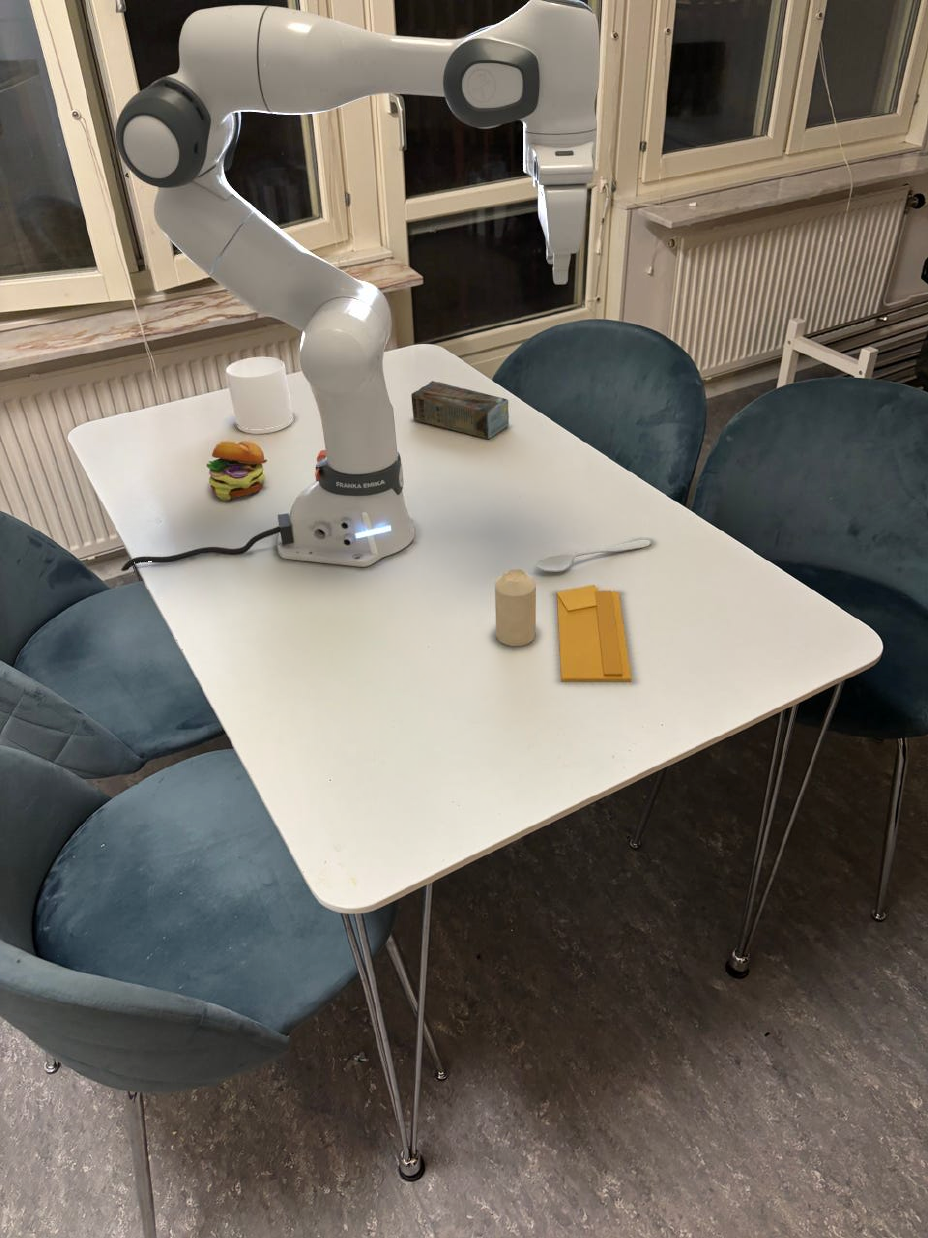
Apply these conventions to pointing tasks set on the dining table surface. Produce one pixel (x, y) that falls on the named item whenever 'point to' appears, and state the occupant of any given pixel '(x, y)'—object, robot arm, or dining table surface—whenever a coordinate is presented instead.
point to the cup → (259, 394)
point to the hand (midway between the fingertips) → (556, 272)
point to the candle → (515, 608)
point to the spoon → (566, 560)
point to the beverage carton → (460, 409)
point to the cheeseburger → (236, 469)
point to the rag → (592, 636)
